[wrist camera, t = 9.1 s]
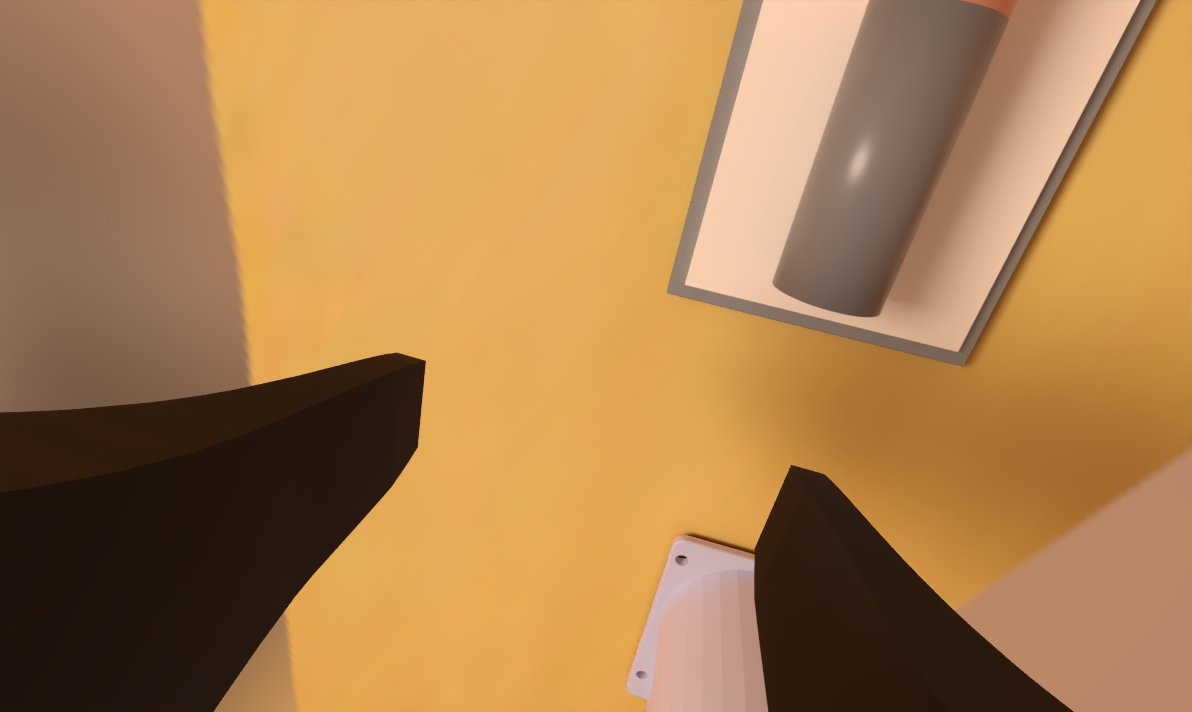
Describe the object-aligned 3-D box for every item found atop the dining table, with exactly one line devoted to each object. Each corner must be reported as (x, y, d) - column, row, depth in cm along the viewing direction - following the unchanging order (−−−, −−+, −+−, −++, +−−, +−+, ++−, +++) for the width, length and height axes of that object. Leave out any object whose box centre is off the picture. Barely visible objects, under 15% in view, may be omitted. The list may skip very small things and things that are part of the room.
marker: (882, 302, 16) (878, 326, 14) (782, 272, 18) (762, 289, 15) (1065, -116, 12) (1105, -189, 10) (920, -122, 13) (923, -189, 11)
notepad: (957, 361, 18) (967, 370, 17) (667, 289, 19) (666, 295, 18) (1223, -148, 13) (1251, -162, 12) (800, -216, 13) (805, -233, 13)
